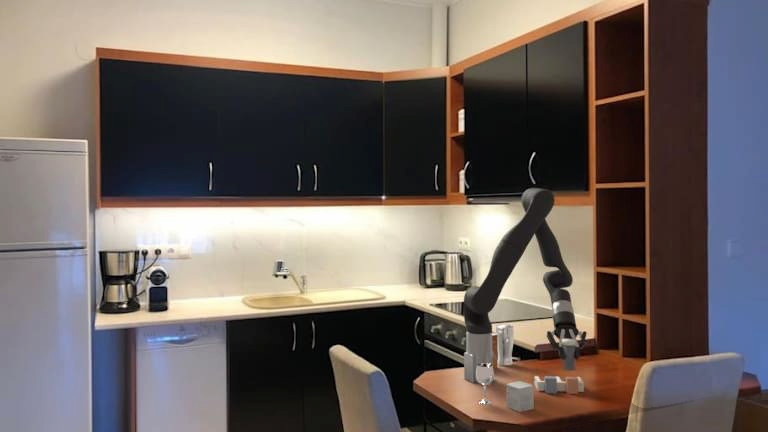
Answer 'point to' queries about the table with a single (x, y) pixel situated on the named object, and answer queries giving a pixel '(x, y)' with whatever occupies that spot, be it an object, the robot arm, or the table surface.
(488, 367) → the wineglass
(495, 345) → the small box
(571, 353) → the blue white-capped bottle
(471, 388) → the table surface
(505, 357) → the beer glass
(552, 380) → the socket block
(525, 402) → the product box
